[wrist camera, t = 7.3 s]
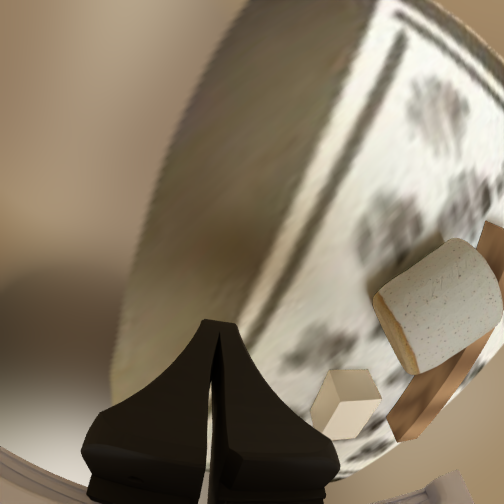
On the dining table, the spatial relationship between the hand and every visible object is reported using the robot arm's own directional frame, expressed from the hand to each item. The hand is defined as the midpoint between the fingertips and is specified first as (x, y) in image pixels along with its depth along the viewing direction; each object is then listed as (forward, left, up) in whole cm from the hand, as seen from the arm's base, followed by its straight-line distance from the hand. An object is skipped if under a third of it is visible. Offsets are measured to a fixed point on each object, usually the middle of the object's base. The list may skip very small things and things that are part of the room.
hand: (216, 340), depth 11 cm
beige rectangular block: (-12, -12, -9) cm, 19 cm away
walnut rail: (-5, -22, -9) cm, 25 cm away
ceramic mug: (-1, -16, -9) cm, 18 cm away
